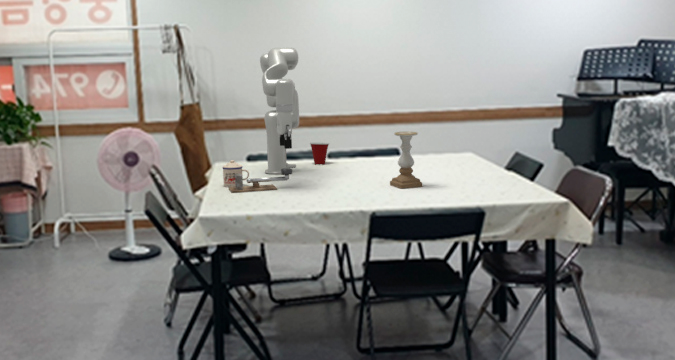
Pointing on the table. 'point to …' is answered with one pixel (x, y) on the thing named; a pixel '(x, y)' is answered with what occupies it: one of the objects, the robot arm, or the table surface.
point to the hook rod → (284, 171)
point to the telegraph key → (255, 187)
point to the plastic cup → (319, 152)
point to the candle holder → (405, 164)
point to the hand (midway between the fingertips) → (285, 147)
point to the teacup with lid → (232, 173)
